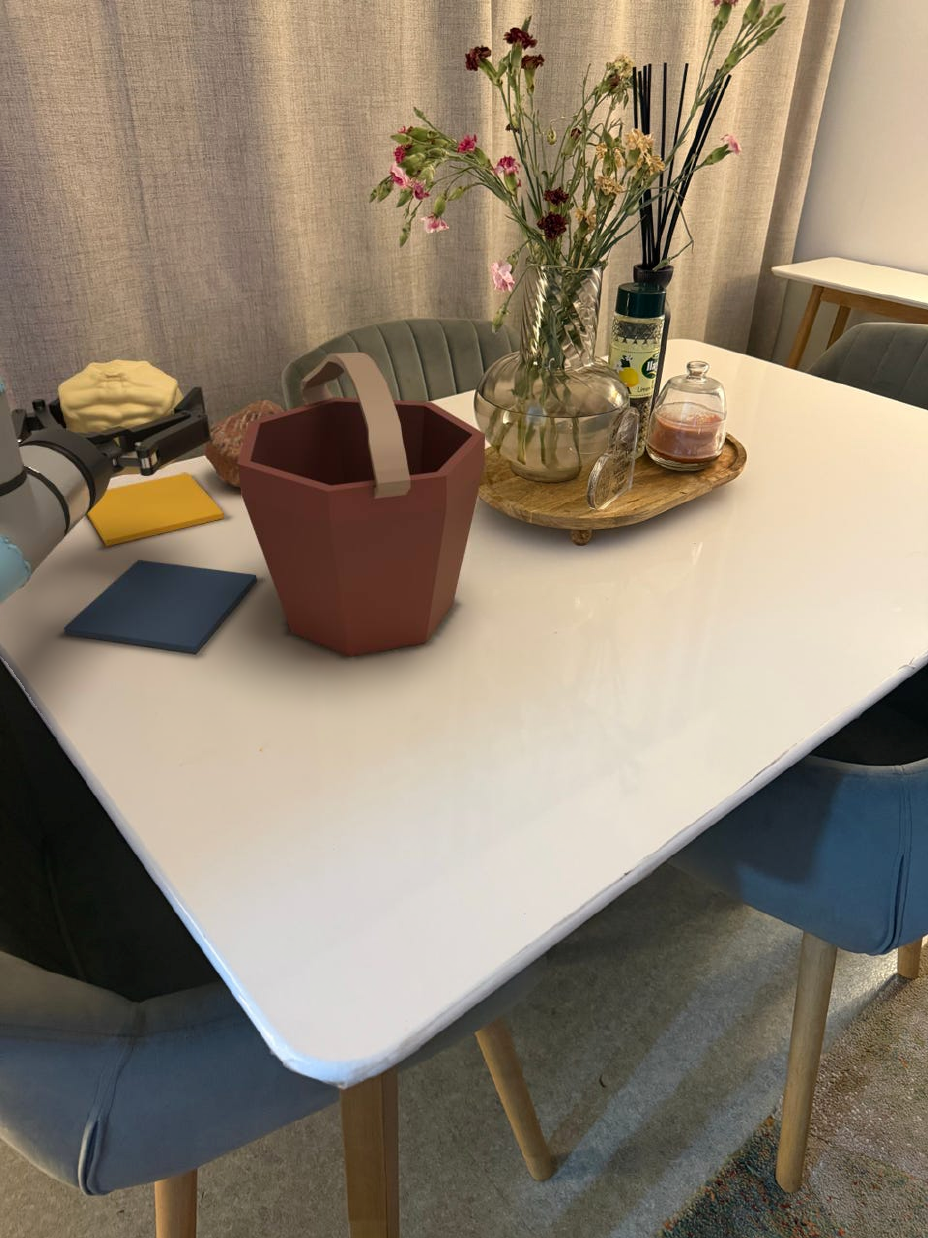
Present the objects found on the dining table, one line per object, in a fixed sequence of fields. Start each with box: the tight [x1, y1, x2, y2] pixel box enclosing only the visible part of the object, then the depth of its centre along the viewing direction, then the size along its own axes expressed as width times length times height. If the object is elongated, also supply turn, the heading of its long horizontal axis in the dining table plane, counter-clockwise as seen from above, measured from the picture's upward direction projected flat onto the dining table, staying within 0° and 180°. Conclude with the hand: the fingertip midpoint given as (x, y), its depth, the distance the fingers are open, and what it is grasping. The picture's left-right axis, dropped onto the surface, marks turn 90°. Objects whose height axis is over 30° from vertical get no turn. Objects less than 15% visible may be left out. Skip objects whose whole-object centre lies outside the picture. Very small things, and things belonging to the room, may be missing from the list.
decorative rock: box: [204, 399, 284, 488], centre depth 116 cm, size 13×11×10 cm
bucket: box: [237, 352, 486, 657], centre depth 85 cm, size 24×22×25 cm
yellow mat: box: [86, 472, 225, 547], centre depth 110 cm, size 14×14×1 cm
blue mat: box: [63, 559, 258, 655], centre depth 91 cm, size 14×14×1 cm
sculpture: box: [57, 358, 185, 476], centre depth 89 cm, size 11×12×11 cm
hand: (141, 397), depth 92 cm, fingers closed on sculpture, 12 cm apart
